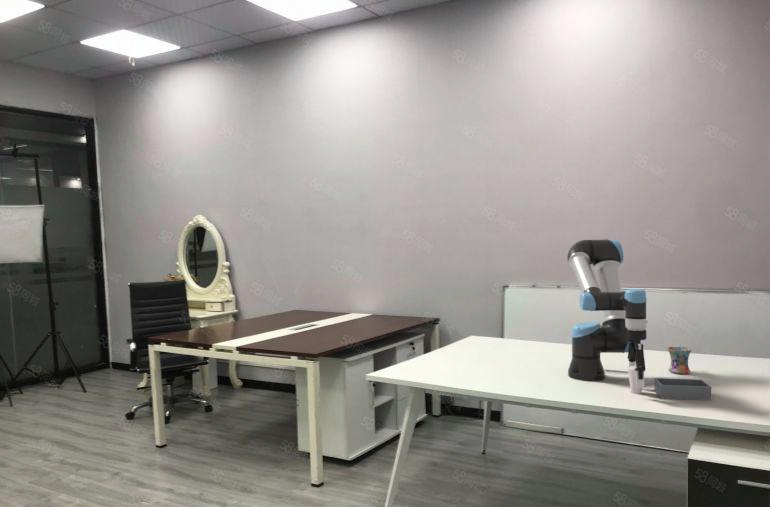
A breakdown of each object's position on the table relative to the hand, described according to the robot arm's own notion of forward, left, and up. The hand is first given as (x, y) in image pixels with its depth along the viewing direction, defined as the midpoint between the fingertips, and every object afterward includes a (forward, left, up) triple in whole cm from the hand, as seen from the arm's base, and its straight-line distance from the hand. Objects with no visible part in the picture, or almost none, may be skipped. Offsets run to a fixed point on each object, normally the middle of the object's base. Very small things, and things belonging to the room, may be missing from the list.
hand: (636, 382), depth 218 cm
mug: (+25, +35, -4) cm, 43 cm away
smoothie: (0, 0, -4) cm, 4 cm away
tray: (+16, -1, -4) cm, 17 cm away
